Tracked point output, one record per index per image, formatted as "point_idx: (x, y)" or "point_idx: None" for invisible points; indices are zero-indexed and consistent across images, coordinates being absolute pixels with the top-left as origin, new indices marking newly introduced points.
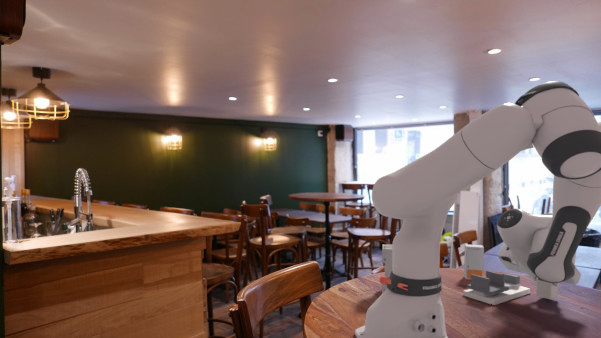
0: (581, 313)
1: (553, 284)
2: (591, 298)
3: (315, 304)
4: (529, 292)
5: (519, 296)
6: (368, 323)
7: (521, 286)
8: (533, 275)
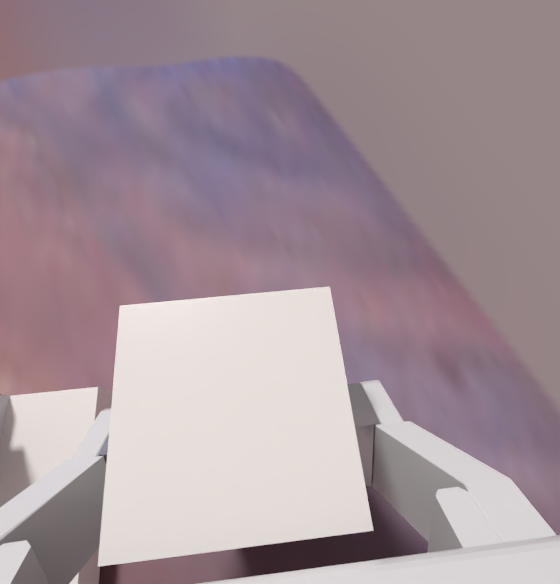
0: (536, 493)
1: None
2: (355, 171)
3: None
4: (110, 404)
5: (97, 582)
6: None
7: (25, 403)
8: (94, 522)
